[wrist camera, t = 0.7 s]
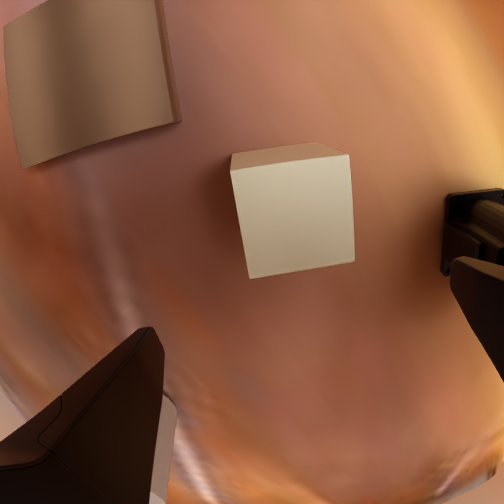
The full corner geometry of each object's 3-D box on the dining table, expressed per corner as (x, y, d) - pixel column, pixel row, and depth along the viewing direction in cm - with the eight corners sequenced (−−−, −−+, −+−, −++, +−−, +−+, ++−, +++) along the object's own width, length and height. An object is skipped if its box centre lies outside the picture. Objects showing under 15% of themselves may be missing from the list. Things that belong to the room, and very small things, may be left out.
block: (315, 141, 18) (348, 154, 13) (324, 220, 20) (354, 261, 15) (232, 153, 18) (229, 171, 13) (246, 232, 20) (249, 278, 15)
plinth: (160, -22, 14) (149, -40, 11) (183, 120, 18) (173, 122, 15) (27, 32, 14) (3, 26, 11) (46, 161, 18) (21, 169, 15)
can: (86, 385, 26) (47, 490, 15) (142, 363, 25) (108, 490, 14) (137, 429, 29) (117, 527, 18) (194, 413, 27) (185, 528, 16)
